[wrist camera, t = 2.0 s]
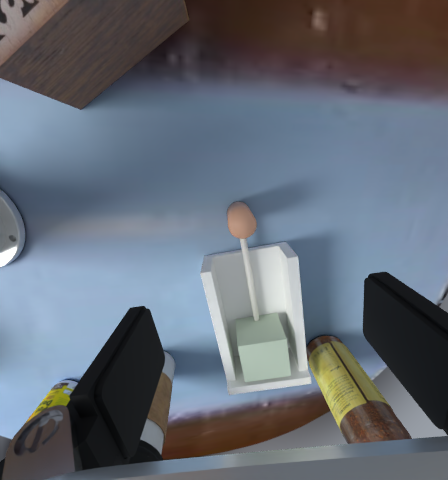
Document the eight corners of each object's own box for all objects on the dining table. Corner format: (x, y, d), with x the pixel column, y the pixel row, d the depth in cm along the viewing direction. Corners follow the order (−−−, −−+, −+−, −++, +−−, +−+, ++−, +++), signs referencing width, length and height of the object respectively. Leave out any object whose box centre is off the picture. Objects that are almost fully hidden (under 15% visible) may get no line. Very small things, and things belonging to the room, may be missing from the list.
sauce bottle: (303, 365, 36) (392, 588, 17) (304, 334, 34) (407, 547, 15) (344, 362, 35) (480, 584, 17) (347, 330, 33) (507, 543, 15)
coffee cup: (192, 371, 36) (172, 505, 22) (150, 389, 37) (104, 526, 23) (164, 335, 34) (122, 458, 19) (120, 355, 35) (49, 485, 21)
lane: (204, 255, 29) (199, 277, 24) (285, 241, 29) (301, 260, 23) (228, 357, 35) (228, 395, 29) (296, 347, 34) (311, 383, 29)
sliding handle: (212, 206, 27) (209, 217, 21) (260, 197, 27) (271, 205, 21) (241, 347, 34) (245, 383, 28) (280, 341, 34) (291, 377, 28)
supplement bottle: (68, 372, 36) (11, 448, 26) (94, 391, 37) (50, 470, 28) (47, 388, 37) (-14, 467, 28) (74, 406, 39) (24, 487, 29)
